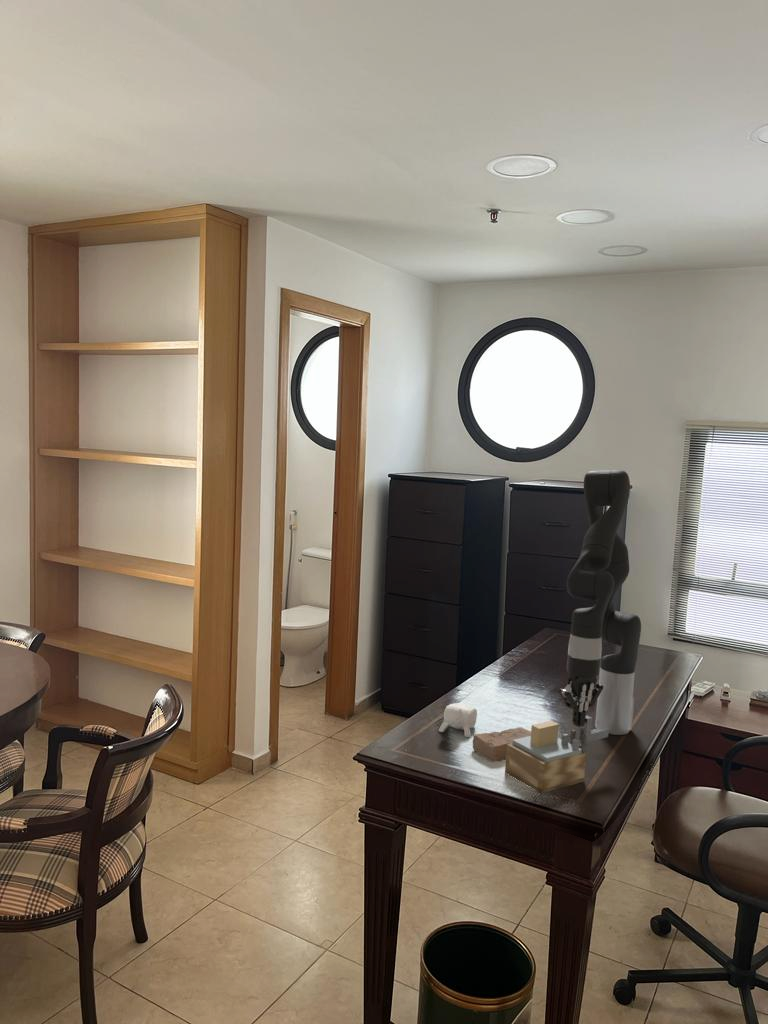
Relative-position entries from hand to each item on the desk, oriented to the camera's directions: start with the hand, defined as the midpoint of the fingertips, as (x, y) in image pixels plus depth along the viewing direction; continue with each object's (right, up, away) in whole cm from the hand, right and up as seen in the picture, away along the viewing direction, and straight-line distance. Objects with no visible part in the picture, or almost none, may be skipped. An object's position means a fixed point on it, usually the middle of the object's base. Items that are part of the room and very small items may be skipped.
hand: (578, 725), depth 184 cm
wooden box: (-8, -12, +1) cm, 15 cm away
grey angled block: (+5, -4, +4) cm, 7 cm away
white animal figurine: (-26, -9, +26) cm, 38 cm away
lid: (-8, -6, 0) cm, 9 cm away
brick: (-15, -11, +15) cm, 24 cm away
